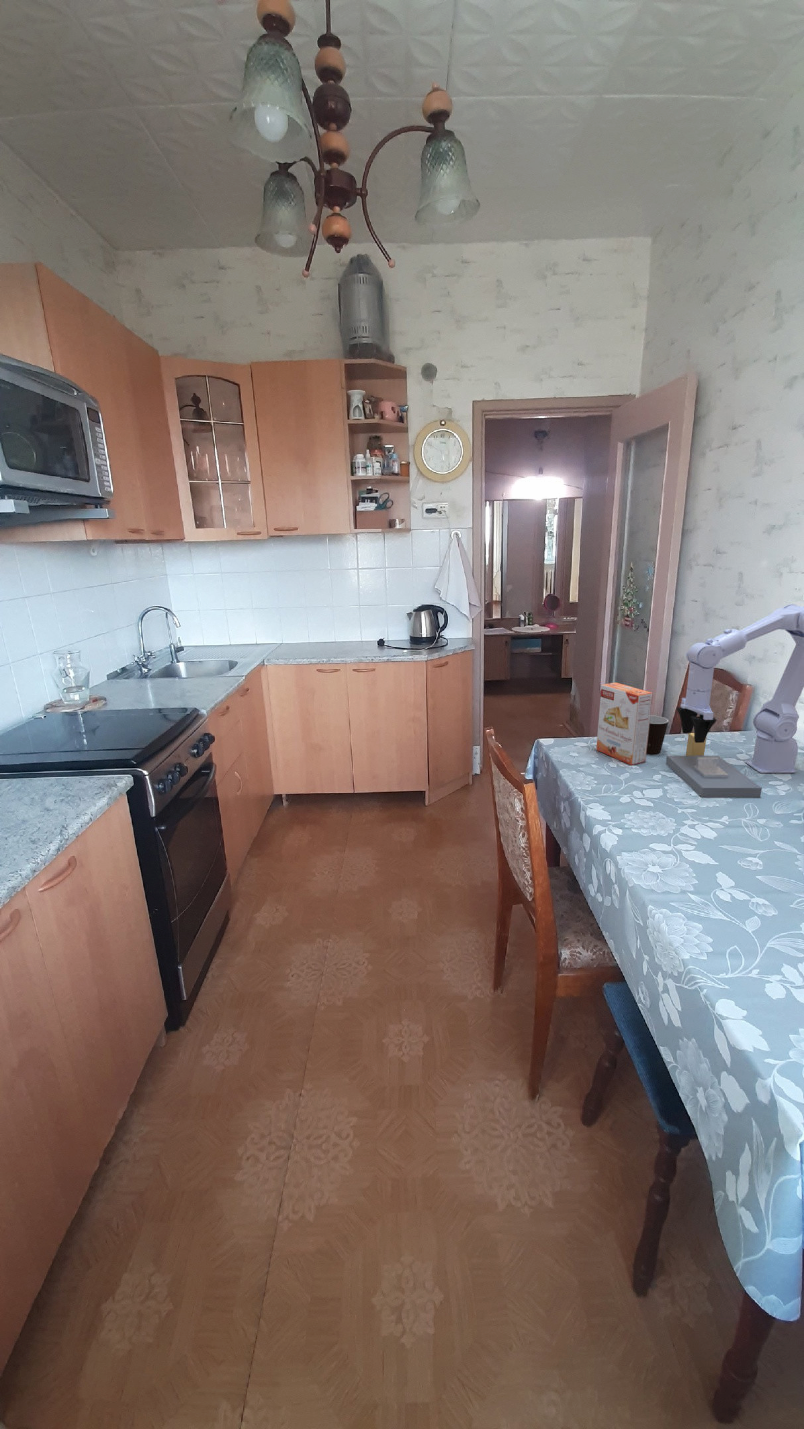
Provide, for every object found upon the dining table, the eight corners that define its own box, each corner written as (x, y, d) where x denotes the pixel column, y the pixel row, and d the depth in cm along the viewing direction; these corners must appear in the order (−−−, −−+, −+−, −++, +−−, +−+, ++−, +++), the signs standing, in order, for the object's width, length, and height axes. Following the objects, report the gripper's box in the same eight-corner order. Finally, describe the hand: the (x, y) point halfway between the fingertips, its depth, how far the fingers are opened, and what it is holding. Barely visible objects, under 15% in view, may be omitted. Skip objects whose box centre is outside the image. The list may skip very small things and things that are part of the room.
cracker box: (594, 750, 172) (600, 683, 166) (609, 747, 174) (615, 681, 168) (630, 766, 159) (637, 694, 153) (646, 762, 162) (654, 691, 156)
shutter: (716, 768, 150) (718, 757, 149) (728, 777, 144) (730, 766, 143) (693, 768, 150) (695, 757, 149) (704, 777, 144) (705, 766, 143)
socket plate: (716, 763, 160) (718, 755, 159) (760, 797, 139) (761, 787, 138) (666, 763, 160) (667, 755, 160) (701, 797, 139) (702, 787, 139)
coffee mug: (669, 755, 166) (673, 723, 163) (640, 756, 166) (643, 724, 163) (653, 742, 177) (657, 712, 174) (625, 743, 178) (628, 712, 175)
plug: (697, 755, 166) (700, 732, 164) (703, 759, 163) (706, 736, 161) (685, 755, 166) (688, 732, 164) (690, 759, 163) (693, 736, 161)
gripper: (672, 682, 157) (667, 729, 161) (695, 696, 143) (689, 746, 147) (698, 682, 156) (692, 728, 160) (724, 695, 142) (717, 746, 146)
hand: (692, 737), depth 153 cm, fingers open, 7 cm apart
